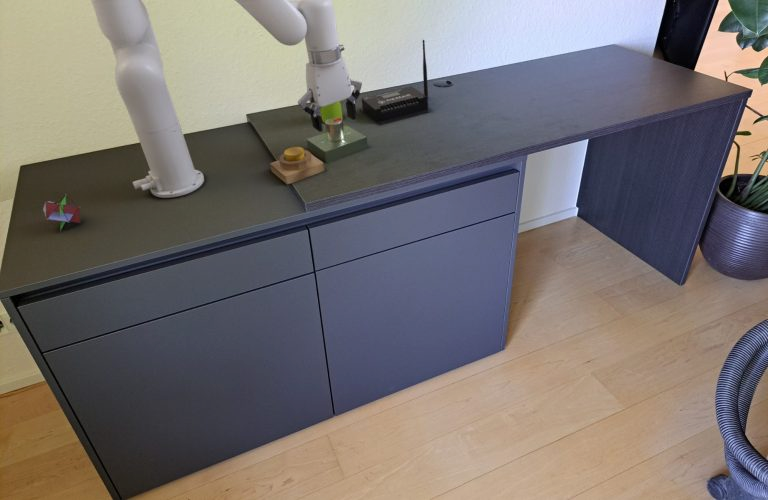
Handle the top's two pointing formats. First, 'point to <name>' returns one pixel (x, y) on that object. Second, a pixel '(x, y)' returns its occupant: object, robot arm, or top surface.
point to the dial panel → (337, 145)
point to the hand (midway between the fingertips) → (335, 124)
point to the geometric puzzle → (62, 212)
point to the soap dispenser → (331, 111)
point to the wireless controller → (398, 102)
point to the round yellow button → (294, 154)
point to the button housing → (296, 168)
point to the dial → (335, 129)
